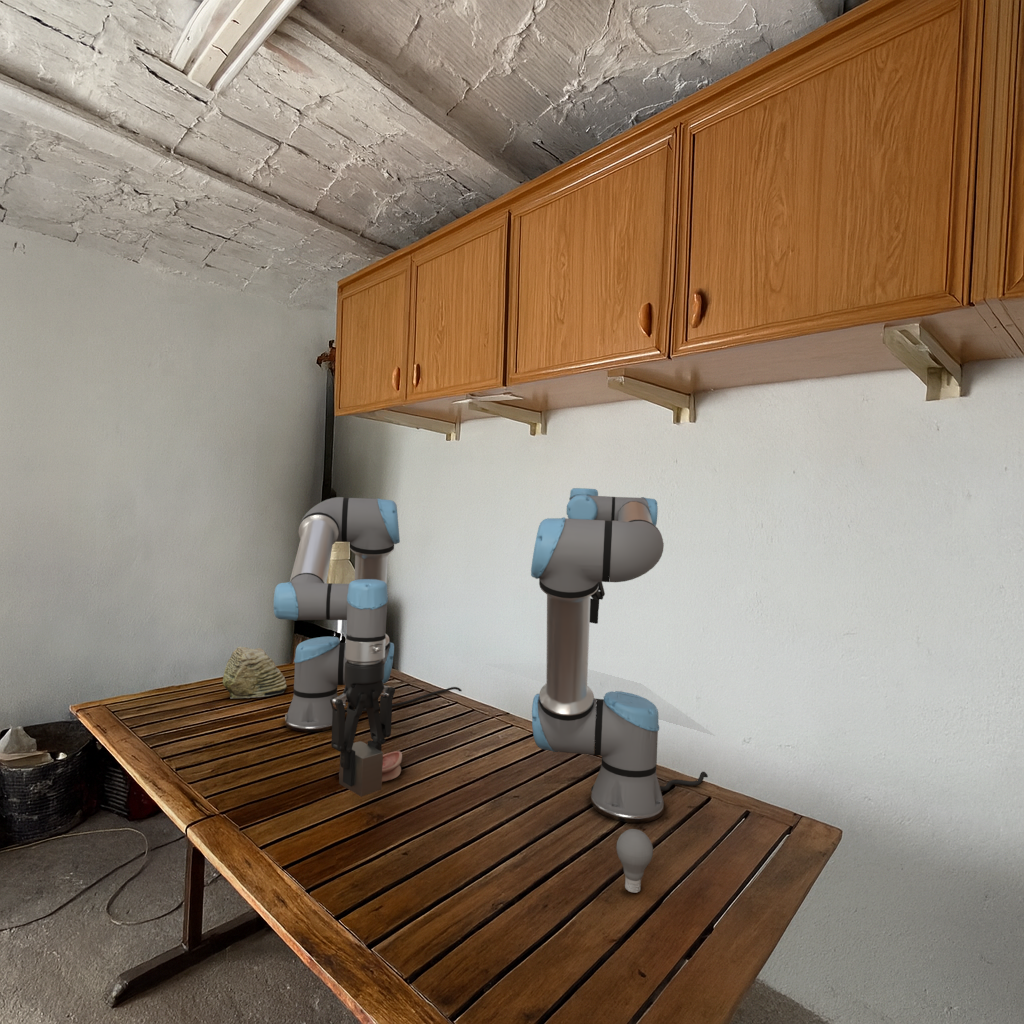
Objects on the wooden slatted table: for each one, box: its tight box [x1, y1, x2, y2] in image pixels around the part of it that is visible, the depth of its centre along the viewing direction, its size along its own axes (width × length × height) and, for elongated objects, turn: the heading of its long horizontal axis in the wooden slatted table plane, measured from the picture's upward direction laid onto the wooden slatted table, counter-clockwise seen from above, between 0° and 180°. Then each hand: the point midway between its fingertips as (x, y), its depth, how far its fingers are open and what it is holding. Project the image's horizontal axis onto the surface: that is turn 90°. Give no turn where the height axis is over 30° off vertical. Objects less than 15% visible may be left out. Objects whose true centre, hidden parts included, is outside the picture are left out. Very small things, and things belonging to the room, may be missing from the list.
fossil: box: [222, 646, 288, 699], centre depth 198 cm, size 9×18×15 cm, turn 132°
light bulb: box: [615, 828, 654, 894], centre depth 106 cm, size 6×6×10 cm
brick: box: [338, 740, 384, 798], centre depth 123 cm, size 8×5×7 cm, turn 47°
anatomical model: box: [382, 750, 403, 783], centre depth 146 cm, size 13×4×12 cm
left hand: (360, 779), depth 123 cm, fingers closed on brick, 5 cm apart
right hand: (578, 625), depth 169 cm, fingers open, 13 cm apart
